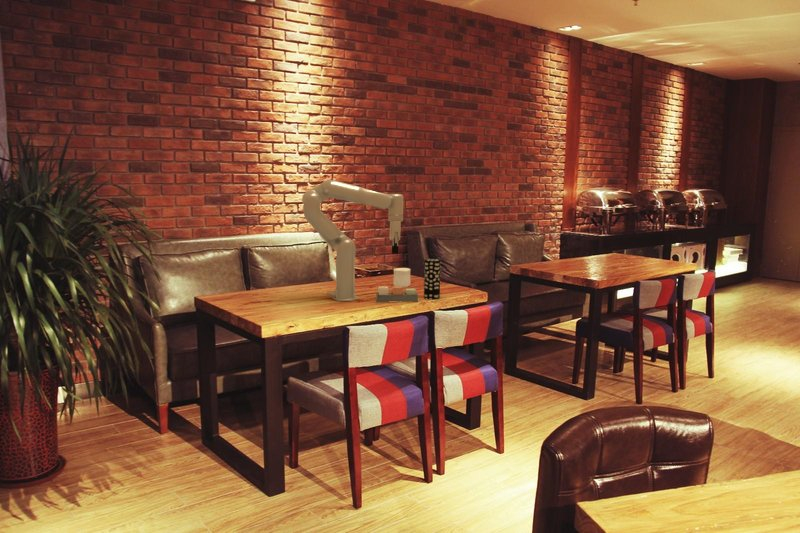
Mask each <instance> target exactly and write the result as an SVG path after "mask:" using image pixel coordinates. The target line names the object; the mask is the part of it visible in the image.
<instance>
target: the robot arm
mask: <svg viewBox="0 0 800 533" xmlns="http://www.w3.org/2000/svg"><path fill="white" fill-rule="evenodd" d="M301 198H302V199H301V200H302V203H303V206H302V212H303V216H304V219H305V220H306V221H307V222H308V223H309V225H310V226H311V227H312V228H313V229H314V230H315V231H316V232H317V233H318V235H319V236H320V238H321V239H322V240H323V241H325V243H327V245H328V246H329V247H330V248H332V249H333V250H334V251H335V252H336V256H335V258H336V259H335V261H336V262H335V289H334V290H333V291H330V290H329V291H328V290H327V294H326V295H327V296H333V297H332V299H333V300H334V301H337V302H353V301H357V300H358V298H359V297H358V295H356V294H355V292H356V290H355V289H356V287H355V286H356V283H355V281H356V280H355V279H356V277H355V275H356V268H355V267H356V265H355V262H356V252H357V247H356V244H355V242H354V241H353V240H352V239H351V238H349V237H348V236H347V235H346V234H345V233H344V232H343V231H342V230H340V228H339V227H338V226H337V225H336V224H335V223H333V222H332V221H331V219H330V218H328V216H326V214H325V213H324V212H323V211H322V210H321V204H322V203H323V202H324V201H326V200H328V199H329V198H332V199H333V198H334V199H337V200H341V201H345V202H346V201H347V202H350V203H355V204H360V205H366V206H369V207H374V208H378V209H381V210H386V209H388V217H387V218H388V220H387V221H388V222H389V240H390V241H392V242H391V254H395V255H398V254H399V241H400V240H401V231H402V230H401V227H402V226H401V223H402V222H403V221H404V195H403V194H401V193H391V194H390V193H383V192H379V191H374V190H370V189H367V188H364V187H362V186H359V185H354V184H351V183H346V182H342V181H339V180H334V179H327V180H325V181H323V182H321V183H320V184H318V185H316V186H314V187H312V188H310V189H309V190H307V191H305V192H304V193H303V195H302V197H301Z"/></svg>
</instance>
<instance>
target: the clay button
mask: <svg viewBox="0 0 800 533" xmlns="http://www.w3.org/2000/svg"><path fill="white" fill-rule="evenodd" d="M391 293H392V295H402V293H403V287H401V286H394V285H392V286H391Z"/></svg>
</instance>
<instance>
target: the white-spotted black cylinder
mask: <svg viewBox="0 0 800 533" xmlns="http://www.w3.org/2000/svg"><path fill="white" fill-rule="evenodd" d="M441 262H442V261H441V259H439V258H425V259H424V267H423V268H424V272H423V273H424V274H423V276H424V277H423V298H424V299H425V298H427V299H426V300H440V299H441V267H442V266H441V264H442V263H441Z"/></svg>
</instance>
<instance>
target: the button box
mask: <svg viewBox="0 0 800 533" xmlns="http://www.w3.org/2000/svg"><path fill="white" fill-rule="evenodd" d="M375 300H377V301H376V303H390V302H389V301H413V302H412V303H418V302H419V293H417V292H416V295H406V294H405V291H404V292H402V295H392V292H388V295H378V292H375ZM414 301H415V302H414Z"/></svg>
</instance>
